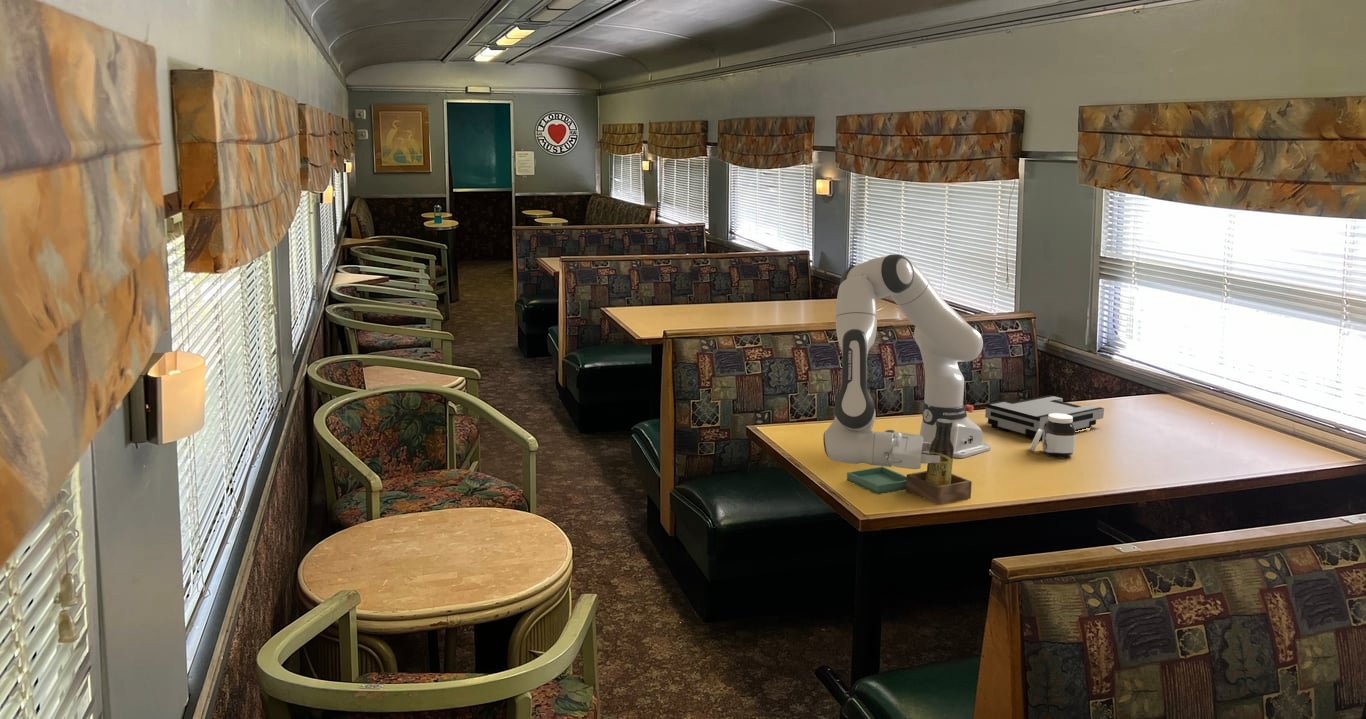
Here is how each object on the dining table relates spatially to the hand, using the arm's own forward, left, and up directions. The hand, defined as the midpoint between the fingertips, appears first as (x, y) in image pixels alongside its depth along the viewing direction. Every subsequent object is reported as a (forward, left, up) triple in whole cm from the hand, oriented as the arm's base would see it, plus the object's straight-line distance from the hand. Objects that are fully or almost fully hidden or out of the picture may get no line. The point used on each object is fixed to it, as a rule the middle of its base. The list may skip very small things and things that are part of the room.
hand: (940, 453), depth 275 cm
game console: (-77, -36, -12) cm, 85 cm away
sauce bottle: (0, 0, -11) cm, 11 cm away
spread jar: (-56, -14, -11) cm, 59 cm away
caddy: (0, 0, -11) cm, 11 cm away
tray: (+8, -14, -11) cm, 19 cm away
